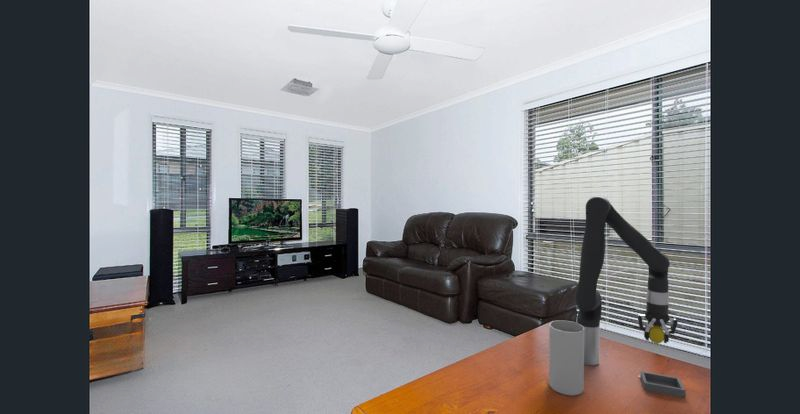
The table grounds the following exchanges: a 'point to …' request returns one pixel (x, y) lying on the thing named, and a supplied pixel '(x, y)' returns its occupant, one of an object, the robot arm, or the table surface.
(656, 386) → the gray open tray
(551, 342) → the cylinder vase
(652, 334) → the lemon
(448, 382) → the table surface
